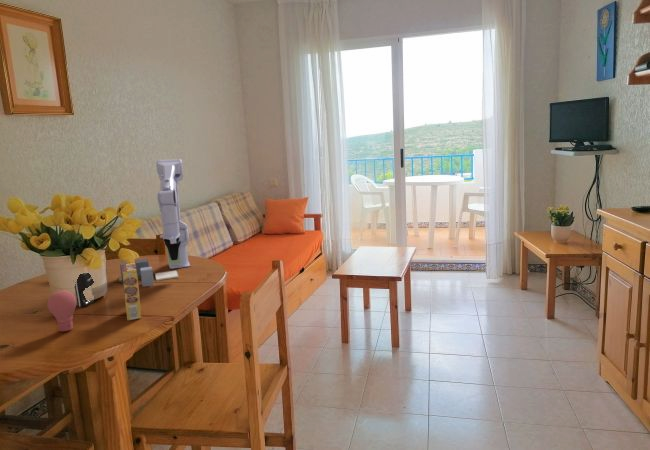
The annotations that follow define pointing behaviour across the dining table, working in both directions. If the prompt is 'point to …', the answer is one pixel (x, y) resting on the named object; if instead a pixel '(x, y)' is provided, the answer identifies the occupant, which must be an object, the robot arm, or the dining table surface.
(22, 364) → the dining table surface
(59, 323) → the light bulb
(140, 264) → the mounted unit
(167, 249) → the sage part
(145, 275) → the blue-grey part
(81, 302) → the black curved piece
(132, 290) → the candy box
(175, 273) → the plate
